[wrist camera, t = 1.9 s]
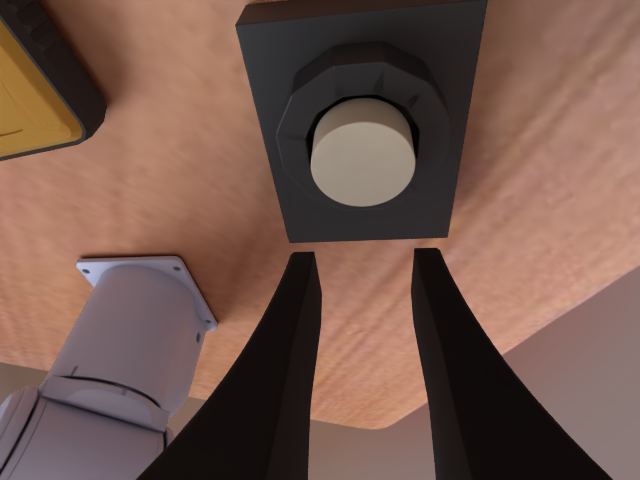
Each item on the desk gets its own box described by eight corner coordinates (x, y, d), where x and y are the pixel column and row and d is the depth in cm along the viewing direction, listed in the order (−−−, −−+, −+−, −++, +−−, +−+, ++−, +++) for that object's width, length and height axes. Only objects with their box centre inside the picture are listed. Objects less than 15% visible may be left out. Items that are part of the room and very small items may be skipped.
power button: (409, 178, 18) (412, 204, 17) (319, 182, 18) (316, 209, 17) (414, 93, 15) (419, 117, 14) (307, 101, 16) (303, 126, 14)
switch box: (441, 211, 24) (452, 262, 21) (293, 217, 25) (285, 267, 22) (475, -21, 15) (501, 17, 13) (245, 4, 16) (224, 44, 14)
